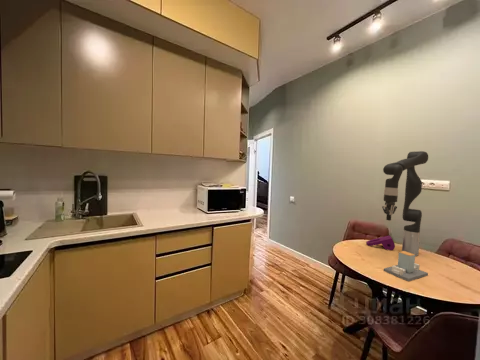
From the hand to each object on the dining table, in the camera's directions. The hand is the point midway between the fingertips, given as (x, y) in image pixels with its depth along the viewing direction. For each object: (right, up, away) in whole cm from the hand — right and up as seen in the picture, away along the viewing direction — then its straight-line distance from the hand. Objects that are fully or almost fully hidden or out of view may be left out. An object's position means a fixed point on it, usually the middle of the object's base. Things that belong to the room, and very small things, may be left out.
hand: (388, 220), depth 144 cm
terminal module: (-2, -26, -18) cm, 32 cm away
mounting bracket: (+12, -27, +28) cm, 40 cm away
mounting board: (-2, -28, -18) cm, 33 cm away
